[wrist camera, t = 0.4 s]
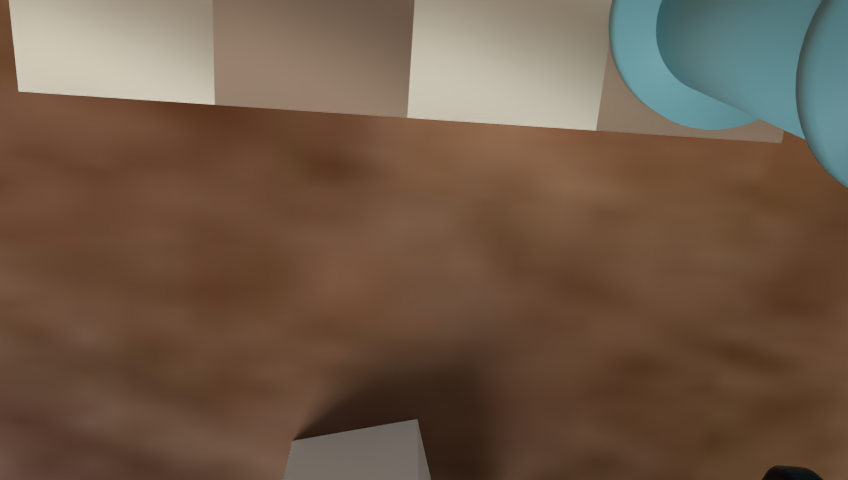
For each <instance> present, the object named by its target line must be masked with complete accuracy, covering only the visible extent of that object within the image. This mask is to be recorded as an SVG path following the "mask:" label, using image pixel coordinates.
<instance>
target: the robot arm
mask: <svg viewBox="0 0 848 480" xmlns="http://www.w3.org/2000/svg"><path fill="white" fill-rule="evenodd" d="M762 480H823V479H822V478H821V477H820V476H819V475H817V474H816V473H815V472H813V471H812V470H810V469H807V468H803V467H792V466H774V467H772V468H770V469H769V470H768V471H767V472H766V474H765V476H764V477H763V479H762Z"/></svg>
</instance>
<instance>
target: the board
mask: <svg viewBox="0 0 848 480" xmlns="http://www.w3.org/2000/svg"><path fill="white" fill-rule="evenodd" d="M611 3H612V0H9V6H10V15H11V24H12V34H13V43H14V52H15V61H16V71H17V80H18V89H19V91H20V92H35V93H50V94H64V95H79V96H94V97H109V98H123V99H138V100H153V101H168V102H182V103H197V104H212V105H227V106H241V107H256V108H271V109H286V110H300V111H315V112H330V113H345V114H359V115H374V116H389V117H404V118H418V119H433V120H448V121H463V122H477V123H492V124H507V125H522V126H536V127H551V128H566V129H581V130H595V131H610V132H625V133H640V134H654V135H669V136H684V137H699V138H713V139H728V140H743V141H758V142H772V143H782V138H783V134H784V130H783V129H781V128H778V127H776V126H774V125H772V124H770V123H767V122H765V121H763V120H761V119H759V120H757V121H754V122H752V123H749V124H746V125H743V126H739V127H735V128H729V129H721V130H704V129H697V128H691V127H687V126H684V125H680V124H678V123H676V122H673V121H671V120H669V119H667V118H665V117H664V116H662V115H660V114H659V113H657V112H655V111H654V110H652V109H651V108H649V107H647V106H646V105H645V104H643V103H642V102H641V101H640V100H639V99H637V98H636V97H635V96H634V94H633V93H632V92H631V91H630V90H629V89H628V88H627V86H626V85H625V83H624V82H623V80H622V79H621V77H620V75H619V73H618V71H617V68H616V66H615V63H614V60H613V57H612V54H611V49H610V43H609V28H608V26H609V14H610V8H611Z"/></svg>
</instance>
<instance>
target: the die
mask: <svg viewBox="0 0 848 480" xmlns="http://www.w3.org/2000/svg"><path fill="white" fill-rule="evenodd" d="M283 480H431V477H430V473H429V469H428V464H427V460H426V456H425V451H424V447H423V442H422V438H421V434H420V429H419V425H418V420H417V419H415V420H409V421H403V422H397V423H392V424H386V425H380V426H375V427H369V428H363V429H357V430H352V431H346V432H340V433H334V434H329V435H323V436H317V437H311V438H306V439H300V440H294V441H292V445H291V449H290V453H289V457H288V461H287V465H286V469H285V473H284V477H283Z"/></svg>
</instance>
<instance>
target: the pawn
mask: <svg viewBox="0 0 848 480" xmlns="http://www.w3.org/2000/svg"><path fill="white" fill-rule="evenodd" d="M608 28H609V43H610V49H611V54H612V57H613V60H614V63H615V66H616V68H617V71H618V73H619V75H620V77H621V79H622V80H623V82H624V83H625V85H626V86H627V88H628V89H629V90H630V91H631V92H632V93H633V94H634V96H635V97H636V98H637V99H639V100H640V101H641V102H642V103H643V104H645V105H646V106H647V107H649V108H651V109H652V110H654V111H655V112H657V113H659V114H660V115H662V116H664V117H665V118H667V119H669V120H671V121H673V122H676V123H678V124H680V125H684V126H687V127H691V128H697V129H704V130H721V129H729V128H735V127H739V126H743V125H746V124H749V123H752V122H754V121H757V120H759V119H761V120H763V121H765V122H767V123H770V124H772V125H774V126H776V127H778V128H781V129H783V130H785V131H787V132H789V133H792V134H794V135H796V136H798V137H801V138H803V139H805V140H806V142H807V144H808V146H809V148H810V149H811V151H812V153H813V154H814V156H815V158H816V159H817V161H818V162H819V163H820V164H821V165H822V167H823V168H824V169H825V170H826V171H827V173H829V174H830V175H831V176H832V177H833V178H834V179H835V180H837V181H838V182H839V183H840V184H842V185H843V186H845V187H846V188H848V0H612V3H611V8H610V14H609V26H608Z"/></svg>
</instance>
